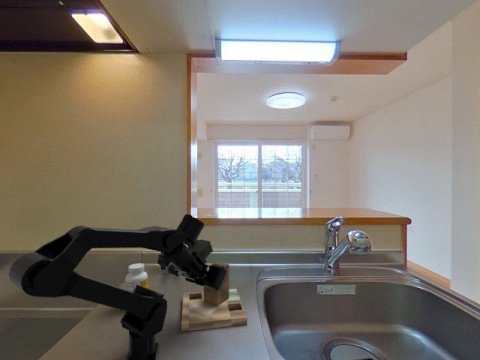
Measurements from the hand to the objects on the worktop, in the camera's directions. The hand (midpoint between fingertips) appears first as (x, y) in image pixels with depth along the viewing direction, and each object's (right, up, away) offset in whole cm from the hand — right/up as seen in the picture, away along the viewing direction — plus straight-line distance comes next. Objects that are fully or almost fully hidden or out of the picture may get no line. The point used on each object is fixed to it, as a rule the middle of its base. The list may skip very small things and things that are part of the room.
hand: (209, 283), depth 78 cm
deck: (+1, -8, 0) cm, 8 cm away
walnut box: (+2, -6, +3) cm, 7 cm away
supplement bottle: (-24, -8, +3) cm, 25 cm away
